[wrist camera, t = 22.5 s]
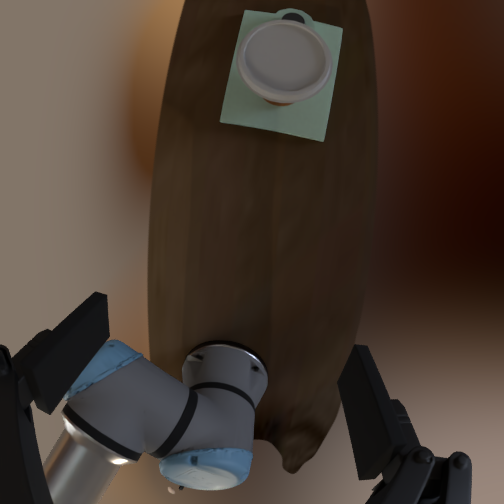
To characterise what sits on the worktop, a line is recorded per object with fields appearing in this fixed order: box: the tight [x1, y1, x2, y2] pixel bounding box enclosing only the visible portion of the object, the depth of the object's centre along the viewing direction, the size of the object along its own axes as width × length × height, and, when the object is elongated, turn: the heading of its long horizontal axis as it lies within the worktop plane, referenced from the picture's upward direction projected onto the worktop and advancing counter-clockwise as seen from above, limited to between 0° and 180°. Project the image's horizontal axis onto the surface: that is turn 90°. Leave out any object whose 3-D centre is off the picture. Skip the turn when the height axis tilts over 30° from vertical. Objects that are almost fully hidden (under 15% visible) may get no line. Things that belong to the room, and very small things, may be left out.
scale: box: [220, 8, 343, 142], centre depth 33 cm, size 18×14×3 cm
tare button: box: [282, 13, 305, 24], centre depth 29 cm, size 3×3×2 cm
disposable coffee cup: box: [236, 20, 333, 106], centre depth 29 cm, size 10×10×12 cm
